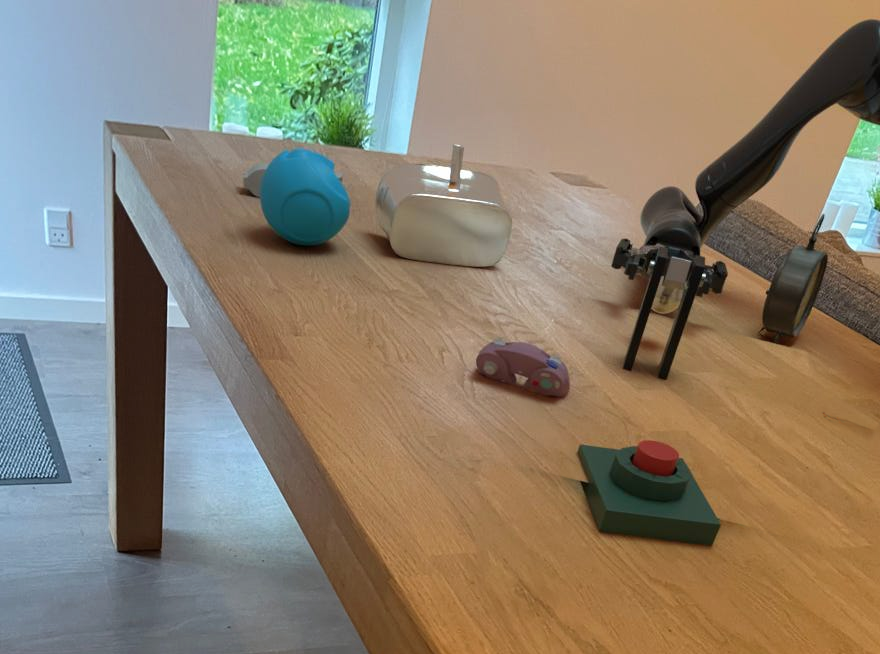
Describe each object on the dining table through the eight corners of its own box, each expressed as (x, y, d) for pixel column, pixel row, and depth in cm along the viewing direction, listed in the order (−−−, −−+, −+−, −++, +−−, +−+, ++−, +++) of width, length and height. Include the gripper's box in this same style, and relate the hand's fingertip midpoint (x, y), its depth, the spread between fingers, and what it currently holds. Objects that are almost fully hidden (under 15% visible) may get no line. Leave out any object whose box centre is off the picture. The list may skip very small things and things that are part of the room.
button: (627, 455, 86) (633, 437, 85) (666, 461, 87) (673, 443, 86) (637, 475, 84) (643, 456, 83) (677, 480, 84) (684, 462, 83)
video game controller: (468, 396, 104) (471, 348, 98) (484, 366, 106) (488, 317, 100) (557, 424, 102) (566, 377, 96) (571, 393, 104) (581, 345, 98)
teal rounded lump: (359, 256, 132) (372, 163, 125) (287, 260, 126) (296, 162, 119) (311, 227, 139) (320, 138, 132) (240, 230, 133) (246, 136, 126)
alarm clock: (781, 355, 128) (834, 225, 119) (742, 341, 130) (791, 213, 120) (802, 337, 136) (853, 214, 126) (764, 324, 138) (812, 202, 128)
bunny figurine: (243, 155, 150) (342, 157, 151) (245, 191, 153) (341, 193, 154) (242, 170, 142) (346, 172, 144) (244, 207, 145) (345, 209, 147)
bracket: (607, 352, 118) (643, 233, 110) (681, 371, 117) (723, 252, 109) (598, 387, 108) (637, 260, 100) (679, 408, 107) (724, 281, 99)
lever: (640, 312, 118) (651, 276, 117) (675, 320, 117) (685, 285, 117) (652, 285, 105) (664, 245, 104) (691, 295, 104) (703, 254, 103)
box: (573, 465, 92) (584, 425, 89) (675, 478, 93) (689, 440, 90) (598, 532, 82) (612, 490, 80) (712, 546, 83) (729, 505, 81)
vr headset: (490, 248, 146) (513, 142, 137) (508, 274, 137) (534, 162, 129) (370, 232, 142) (386, 122, 133) (381, 257, 133) (399, 141, 124)
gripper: (628, 208, 132) (619, 235, 119) (733, 233, 131) (736, 262, 118) (612, 265, 137) (602, 296, 124) (713, 289, 135) (714, 324, 122)
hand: (667, 280), depth 121 cm, fingers open, 8 cm apart
